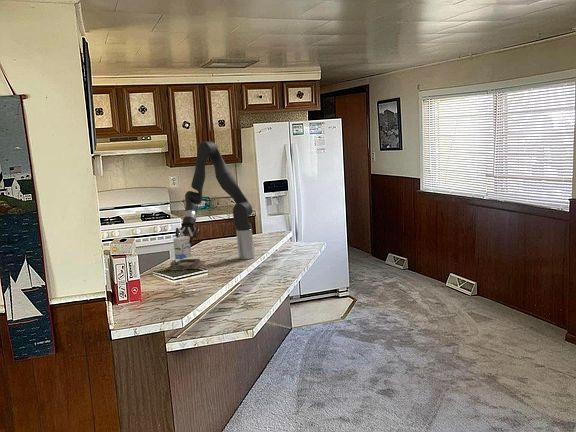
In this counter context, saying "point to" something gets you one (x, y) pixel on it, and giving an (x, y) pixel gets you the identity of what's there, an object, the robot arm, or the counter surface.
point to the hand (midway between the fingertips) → (184, 243)
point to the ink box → (182, 247)
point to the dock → (185, 264)
